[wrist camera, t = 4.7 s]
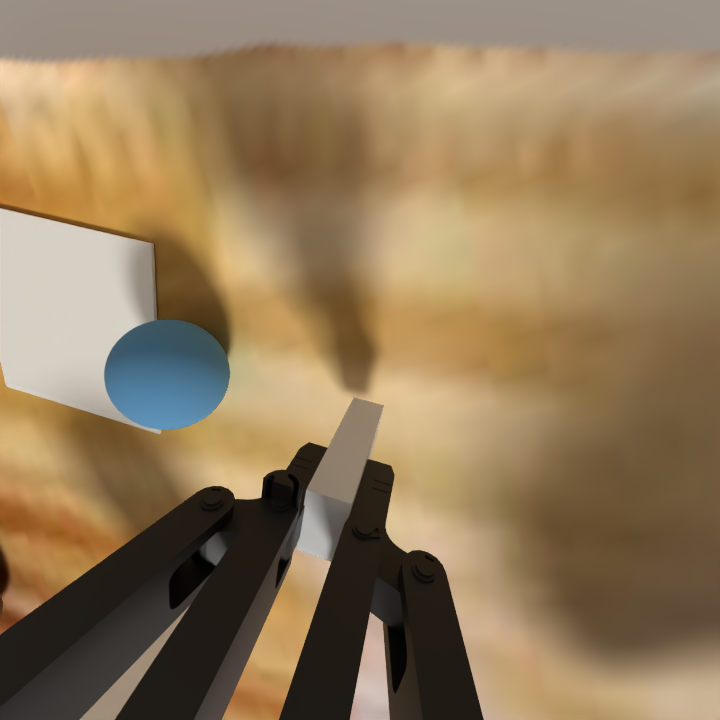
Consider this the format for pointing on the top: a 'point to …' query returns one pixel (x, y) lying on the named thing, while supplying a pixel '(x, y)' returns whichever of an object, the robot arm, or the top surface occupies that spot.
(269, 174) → the top surface
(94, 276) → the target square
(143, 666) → the foam cup
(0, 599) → the ceramic pitcher
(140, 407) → the ball
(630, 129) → the top surface
